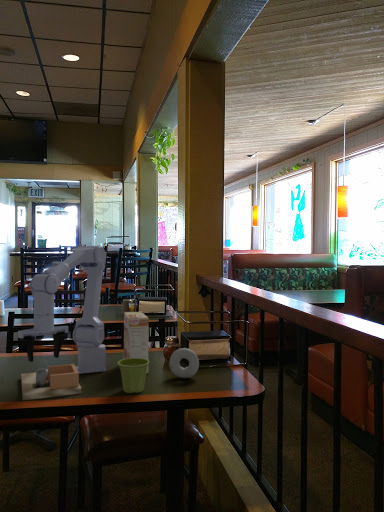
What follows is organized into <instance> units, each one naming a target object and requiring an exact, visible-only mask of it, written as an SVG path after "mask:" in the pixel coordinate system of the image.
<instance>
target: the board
mask: <svg viewBox="0 0 384 512" xmlns="http://www.w3.org/2000/svg"><path fill="white" fill-rule="evenodd" d="M20 375H21V376H20V377H21V379H20V380H21V396H22V397H21V398H22V401H30V400H38V399H46V398H53V397H62V396H63V397H64V396H70V395H71V396H72V395H78V394H82V386H81V385H80V383H79V386H77V387H69V388H60V389H51V390H50V380H48V387H45V388H36V389H35V386H36V371H34V372H27V373H21V374H20Z"/></svg>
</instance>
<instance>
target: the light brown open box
mask: <svg viewBox="0 0 384 512" xmlns="http://www.w3.org/2000/svg"><path fill="white" fill-rule="evenodd" d="M76 367H77V366H76V365H75V363H68V364H60V365H59V364H57V365H48V366H47V368H48V369H49V375H48V380H50V390H51V389H60V388H69V387H77V386H79V384H80V383H79V381H80V374H79V372H78V370H77V369H76Z"/></svg>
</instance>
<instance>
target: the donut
mask: <svg viewBox="0 0 384 512" xmlns="http://www.w3.org/2000/svg"><path fill="white" fill-rule="evenodd" d="M182 359H186V360H187V361H188V366H187V367H183V366H181V364H180V361H181V360H182ZM199 366H200V361H199V358H198V355H197V354H196V353H195V352H194V350H192V349H190V348H187V347H183V348H178V349H176V350H175V351H173V353H171V355H170V358H169V369H170V370H171V373H173V375H175V376H176V377H178V378H180V379H187V378H188V379H189V378H191V377H193V376H194V375H195V374H196V373H197V372H198V370H199Z"/></svg>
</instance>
